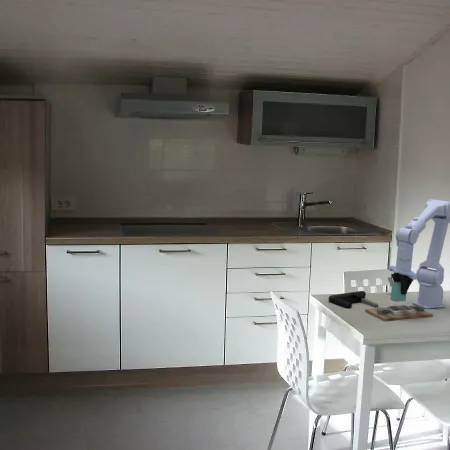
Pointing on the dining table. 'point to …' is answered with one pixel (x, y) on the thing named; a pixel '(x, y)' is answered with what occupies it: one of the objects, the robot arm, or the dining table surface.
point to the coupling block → (397, 292)
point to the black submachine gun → (351, 299)
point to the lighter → (390, 280)
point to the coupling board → (399, 312)
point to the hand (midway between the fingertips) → (400, 293)
